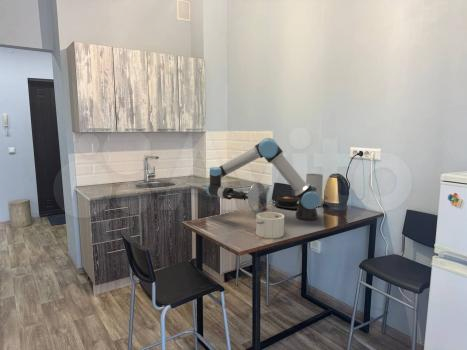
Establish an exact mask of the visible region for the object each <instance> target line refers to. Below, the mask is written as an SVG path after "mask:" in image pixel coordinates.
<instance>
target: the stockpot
mask: <svg viewBox="0 0 467 350" xmlns="http://www.w3.org/2000/svg"><path fill="white" fill-rule="evenodd" d="M254 219H255V220H256V221H255V235H257V236H258V237H260V238H265V239H278V238H279V239H280V238H281V237H283V236H285V235H284V234H285V214H282V212H281V213H279V212H275V211H262V212H259V213H256V214H255V213H254Z"/></svg>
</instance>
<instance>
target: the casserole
mask: <svg viewBox="0 0 467 350" xmlns="http://www.w3.org/2000/svg"><path fill="white" fill-rule="evenodd" d="M276 200H277V201H273V202H272V203H273V204H274V205H275V206H277V207H280V208H282V209H287V210H289V209H294V210H295V209H296V210H297V209H298V204H299V199H298V198H297V197H296V195H295V194H294V195H293V194H280V195H278V196H277V198H276Z"/></svg>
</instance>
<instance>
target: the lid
mask: <svg viewBox="0 0 467 350" xmlns="http://www.w3.org/2000/svg"><path fill="white" fill-rule="evenodd" d="M247 193H248V200H247V202H248V205H249V208H250V209H251V211H252V212H254V215H255V214H256V213H259V212H264V211H263V210H262V209H263V208H264V206H265V204H266V198H268V197H267V196H266V190H265V187H264V185H263V184H262V183H259V182H256V183H253V184H252V185H251V186H250V187H249V190H248V192H247Z"/></svg>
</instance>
